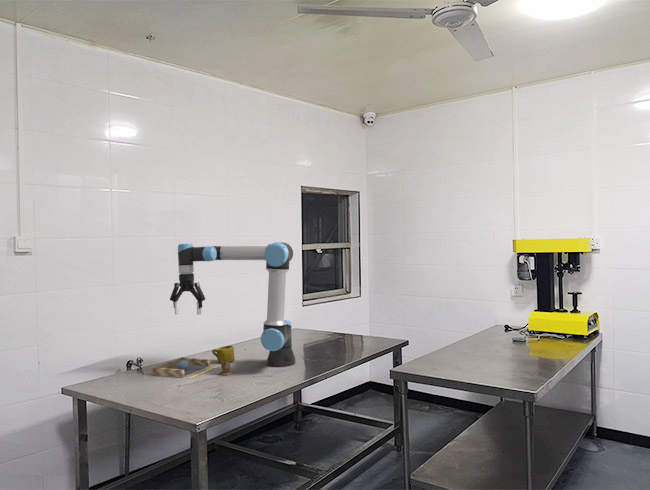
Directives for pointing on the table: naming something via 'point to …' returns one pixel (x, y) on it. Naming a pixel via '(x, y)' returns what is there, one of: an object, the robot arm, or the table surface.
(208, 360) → the wooden u-shaped frame
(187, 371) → the mat
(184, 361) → the ball
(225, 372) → the tee
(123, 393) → the table surface
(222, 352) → the mug
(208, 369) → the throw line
